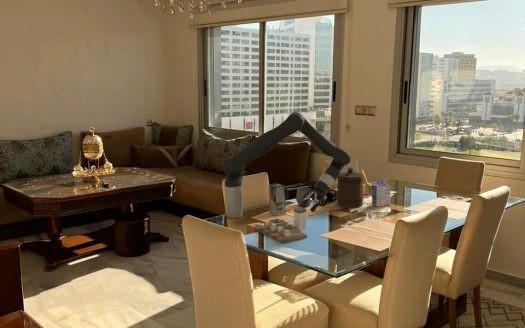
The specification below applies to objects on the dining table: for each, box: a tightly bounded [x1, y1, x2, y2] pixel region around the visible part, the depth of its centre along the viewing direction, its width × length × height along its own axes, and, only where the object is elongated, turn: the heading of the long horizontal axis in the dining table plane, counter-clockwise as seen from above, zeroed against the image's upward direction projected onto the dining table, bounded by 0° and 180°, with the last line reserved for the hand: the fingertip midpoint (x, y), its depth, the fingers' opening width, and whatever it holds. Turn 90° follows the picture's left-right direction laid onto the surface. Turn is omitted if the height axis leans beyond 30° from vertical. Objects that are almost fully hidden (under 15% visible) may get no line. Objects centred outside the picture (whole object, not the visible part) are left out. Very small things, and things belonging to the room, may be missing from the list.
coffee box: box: [268, 183, 287, 217], centre depth 269 cm, size 9×6×16 cm
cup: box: [295, 187, 312, 208], centre depth 283 cm, size 10×9×10 cm
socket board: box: [255, 217, 308, 244], centre depth 236 cm, size 24×14×4 cm, turn 30°
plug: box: [293, 206, 307, 230], centre depth 244 cm, size 4×4×10 cm
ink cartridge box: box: [371, 179, 392, 208], centre depth 280 cm, size 10×6×14 cm, turn 112°
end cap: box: [325, 188, 337, 203], centre depth 294 cm, size 10×7×7 cm
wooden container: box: [336, 167, 364, 209], centre depth 282 cm, size 15×15×22 cm
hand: (306, 209), depth 245 cm, fingers open, 8 cm apart
